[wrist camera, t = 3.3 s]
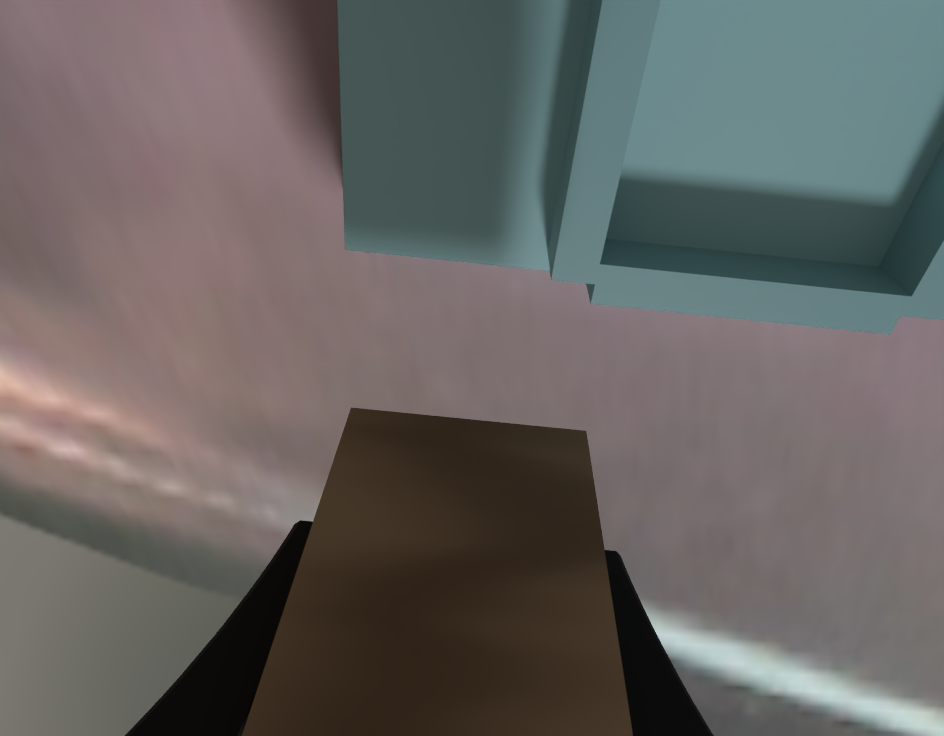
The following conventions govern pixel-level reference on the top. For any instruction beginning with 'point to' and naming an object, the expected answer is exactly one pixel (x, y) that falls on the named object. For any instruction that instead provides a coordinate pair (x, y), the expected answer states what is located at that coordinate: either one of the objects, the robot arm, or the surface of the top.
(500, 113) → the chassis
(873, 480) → the top surface
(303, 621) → the brown wooden block
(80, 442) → the top surface
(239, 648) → the robot arm
